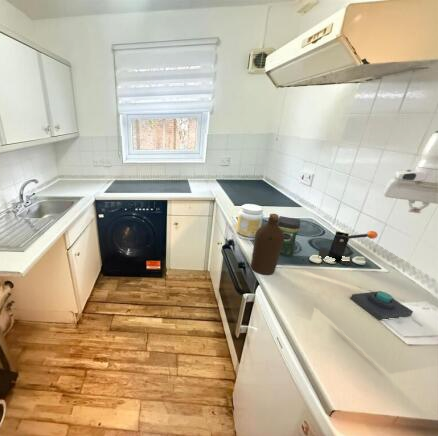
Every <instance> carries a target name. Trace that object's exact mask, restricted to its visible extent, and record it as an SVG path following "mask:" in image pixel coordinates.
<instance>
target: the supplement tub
mask: <svg viewBox="0 0 438 436" xmlns="http://www.w3.org/2000/svg"><path fill="white" fill-rule="evenodd" d="M263 212H264V208H263V207H262V206H261V205H258V204H253V203H245V204H242V205H241V207H240V210H239V212H238V217H237V223H236V230H235V234H236V236H237V237H239V238H240V239H242V240H246V241H254V240H255V234H256V232H257V230H258V229H259V228H260V227H261V226H263V220H264V213H263Z"/></svg>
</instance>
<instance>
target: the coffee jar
mask: <svg viewBox="0 0 438 436" xmlns="http://www.w3.org/2000/svg"><path fill="white" fill-rule="evenodd" d="M277 225H278V226H279V228H280V229H281V230H282V232H283V234H284V243H283V246H282V249H281V252H280V255H279V257H285V258H292V257H293V256H294V252H295V246H296V245H295V244H296V238H297V234H298V233H299V231H300V229H301V219H300V218H295V217H288V216H282V215H280V216H279V217H278V223H277Z"/></svg>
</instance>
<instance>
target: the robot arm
mask: <svg viewBox="0 0 438 436" xmlns="http://www.w3.org/2000/svg"><path fill="white" fill-rule="evenodd" d="M382 194H383V195H384V197H386V198H390V199H397V200H406V201H407V204H408V206H409V207H408V209H407V212H408V213H412V214H413V213H414V214H421V213H422V210H424V209H425V208H428V207H429V206H430V204H437V205H438V130H436V131H435V132H433V134H431V136H430V137H429V139H428V140H427V142H426V144H425V146H424V148H423V150H422V153H421V158H420V160H419V162H418V163H417V164H416V166H415V168H410V169H403V170H397V171H396V172H395V173H394V177H392V178H390V179H389V180H388V182H387V183H386V185H385V187H384V189H383V191H382ZM416 202H419V203H420V202H421V205H419V206H418V207H417V206H414V205H413V204H415V203H416Z"/></svg>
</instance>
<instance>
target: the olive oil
mask: <svg viewBox="0 0 438 436" xmlns="http://www.w3.org/2000/svg"><path fill="white" fill-rule="evenodd" d="M279 217H280V216H279V214H277V213H270V214H269V217H268V218H267V219H268V220H267V223H265V224H262V226H261V227H260V228H259V229H258V230H257V232H256V234H255V240H253V249H252V254H251V261H250V268H251V270H252V271H254V272H255V273H257V274H259V275H264V276H271V275H273V274H275V272H276V268H277V264H278V261H279V258H280V252H281V249H282V246H283V243H284V234H283V232H282V230H281V229H280V228H279V226H278V225H277V223H278V218H279Z"/></svg>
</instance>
